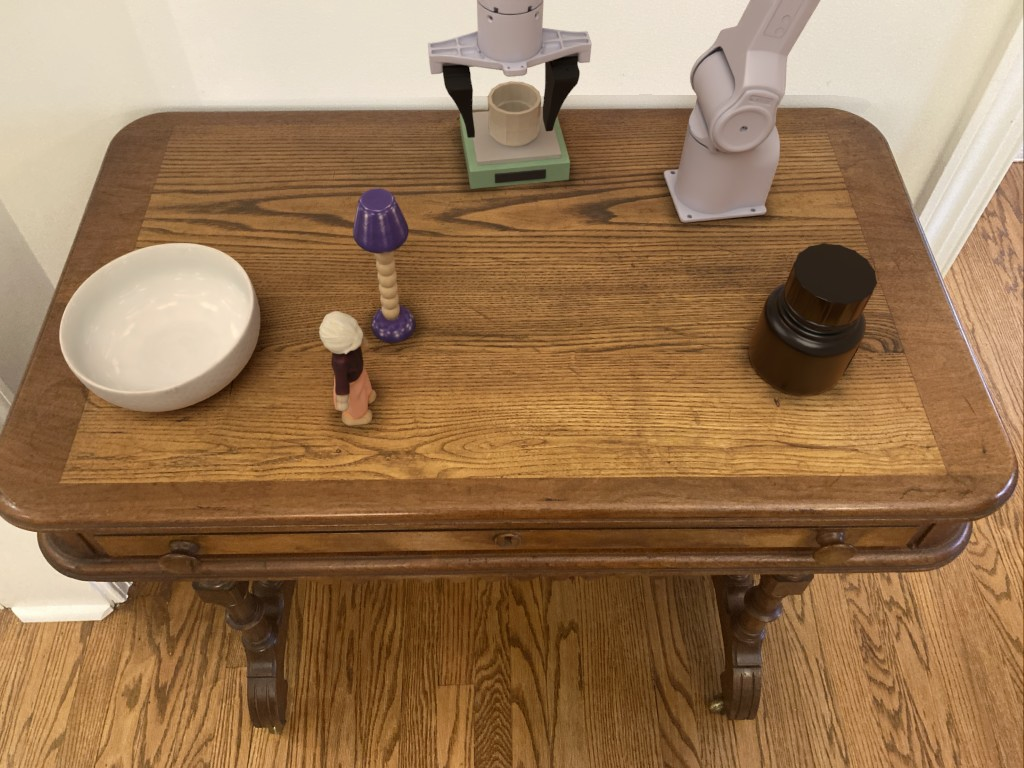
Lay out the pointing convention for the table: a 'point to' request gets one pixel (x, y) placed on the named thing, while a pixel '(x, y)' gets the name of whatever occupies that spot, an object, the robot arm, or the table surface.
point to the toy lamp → (384, 259)
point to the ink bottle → (813, 320)
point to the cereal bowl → (161, 327)
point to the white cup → (514, 113)
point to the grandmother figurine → (348, 367)
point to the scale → (513, 156)
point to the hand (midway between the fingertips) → (509, 128)
